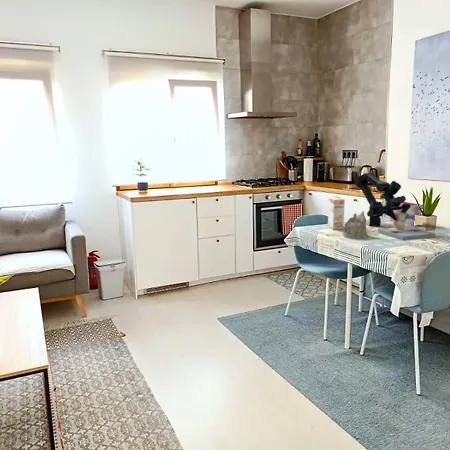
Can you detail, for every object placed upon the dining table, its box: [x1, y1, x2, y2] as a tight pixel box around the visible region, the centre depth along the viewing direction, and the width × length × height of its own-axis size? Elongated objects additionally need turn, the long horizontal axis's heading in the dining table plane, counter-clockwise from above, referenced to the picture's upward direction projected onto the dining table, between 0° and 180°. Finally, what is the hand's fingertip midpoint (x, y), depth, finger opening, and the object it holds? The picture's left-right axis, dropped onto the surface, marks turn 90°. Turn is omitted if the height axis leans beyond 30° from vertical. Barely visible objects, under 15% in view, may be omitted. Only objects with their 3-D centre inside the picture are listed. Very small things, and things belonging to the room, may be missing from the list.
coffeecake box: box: [327, 196, 346, 231], centre depth 274 cm, size 15×7×20 cm, turn 179°
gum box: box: [389, 201, 424, 227], centre depth 285 cm, size 24×8×14 cm, turn 20°
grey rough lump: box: [342, 210, 368, 240], centre depth 251 cm, size 16×16×15 cm
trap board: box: [377, 226, 436, 241], centre depth 252 cm, size 22×22×2 cm
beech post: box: [392, 212, 406, 230], centre depth 256 cm, size 4×4×10 cm
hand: (401, 219), depth 255 cm, fingers open, 7 cm apart
